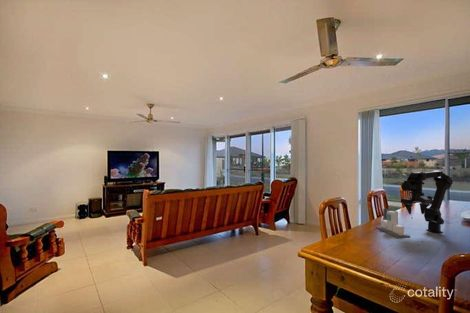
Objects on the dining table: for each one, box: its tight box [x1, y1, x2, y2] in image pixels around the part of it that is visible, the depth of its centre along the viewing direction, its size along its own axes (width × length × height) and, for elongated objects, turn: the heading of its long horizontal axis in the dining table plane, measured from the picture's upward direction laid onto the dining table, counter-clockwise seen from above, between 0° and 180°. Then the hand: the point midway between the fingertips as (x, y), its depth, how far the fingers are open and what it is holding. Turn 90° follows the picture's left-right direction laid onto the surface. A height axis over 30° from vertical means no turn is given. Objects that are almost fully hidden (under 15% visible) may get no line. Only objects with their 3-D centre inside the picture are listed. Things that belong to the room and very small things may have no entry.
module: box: [387, 211, 398, 231], centre depth 158 cm, size 4×4×12 cm
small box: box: [382, 208, 399, 225], centre depth 179 cm, size 11×6×10 cm, turn 168°
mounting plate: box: [375, 219, 411, 239], centre depth 158 cm, size 9×20×6 cm, turn 2°
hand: (416, 214), depth 155 cm, fingers open, 9 cm apart
